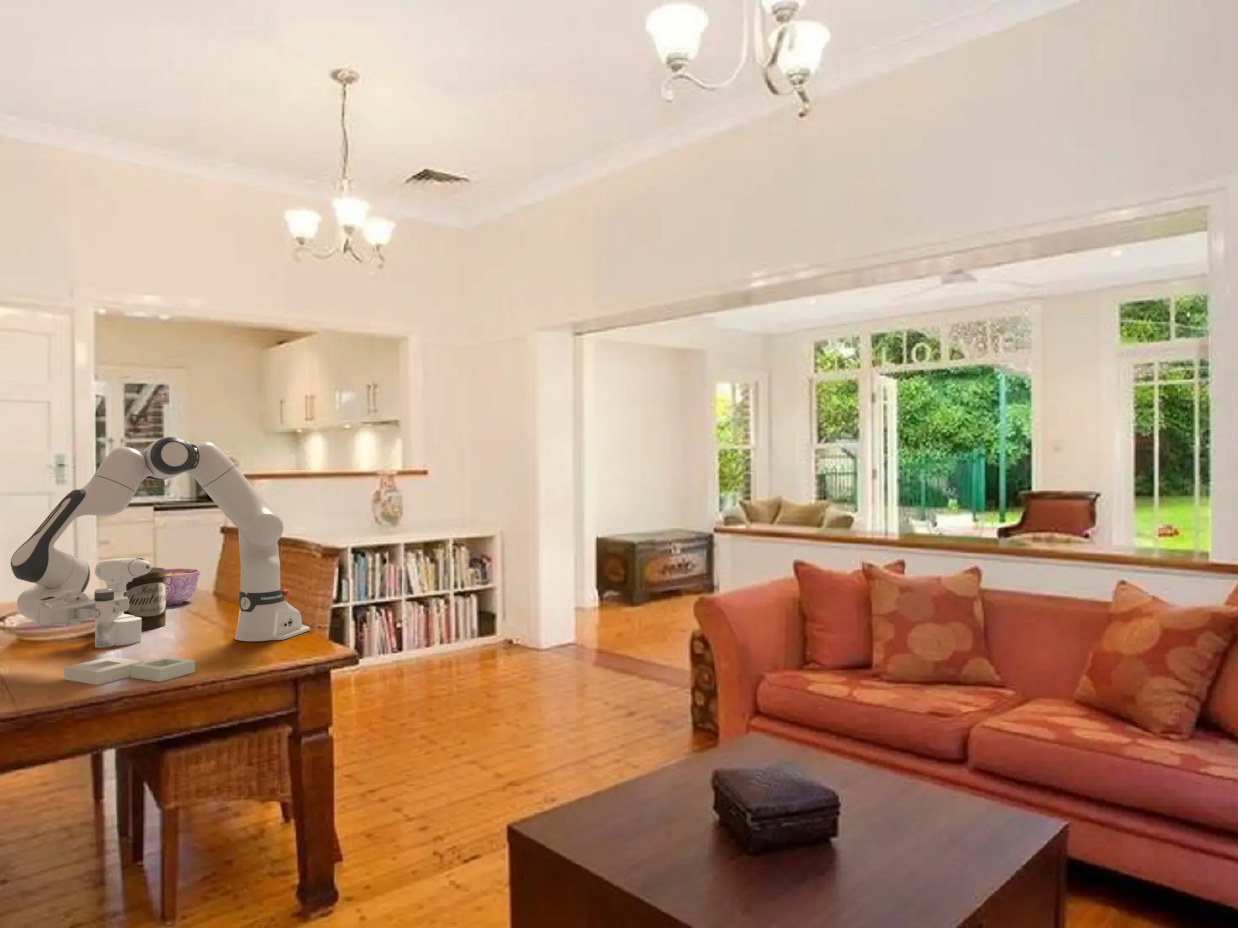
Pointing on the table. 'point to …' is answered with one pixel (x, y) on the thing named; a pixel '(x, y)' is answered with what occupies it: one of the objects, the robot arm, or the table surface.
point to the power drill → (117, 578)
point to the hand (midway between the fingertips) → (106, 611)
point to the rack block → (162, 669)
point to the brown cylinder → (148, 598)
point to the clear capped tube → (104, 617)
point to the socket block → (100, 670)
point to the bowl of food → (180, 584)
